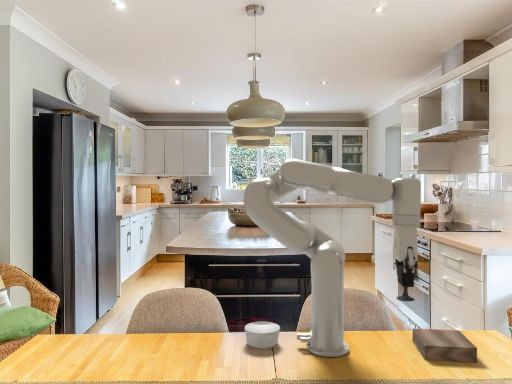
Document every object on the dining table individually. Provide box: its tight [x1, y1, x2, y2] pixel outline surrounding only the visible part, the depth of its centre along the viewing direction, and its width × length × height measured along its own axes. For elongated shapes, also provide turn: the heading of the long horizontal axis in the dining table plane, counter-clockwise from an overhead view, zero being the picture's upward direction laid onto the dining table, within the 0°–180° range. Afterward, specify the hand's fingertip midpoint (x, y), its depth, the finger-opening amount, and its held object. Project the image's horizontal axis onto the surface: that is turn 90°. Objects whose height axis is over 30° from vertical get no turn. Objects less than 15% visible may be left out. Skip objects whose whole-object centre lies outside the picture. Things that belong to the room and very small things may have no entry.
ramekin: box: [244, 321, 281, 350], centre depth 129 cm, size 11×11×5 cm
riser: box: [411, 328, 478, 363], centre depth 123 cm, size 14×14×4 cm
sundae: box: [393, 258, 419, 302], centre depth 118 cm, size 7×7×15 cm
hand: (405, 283), depth 118 cm, fingers closed on sundae, 4 cm apart
